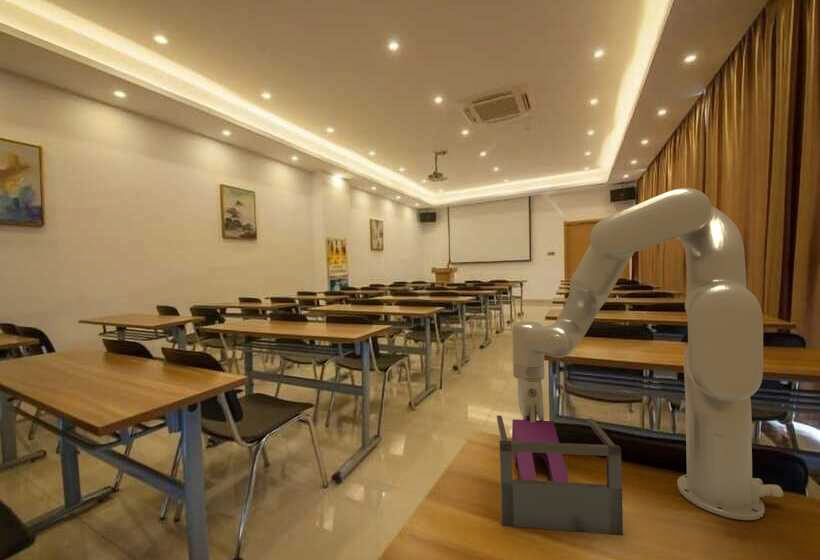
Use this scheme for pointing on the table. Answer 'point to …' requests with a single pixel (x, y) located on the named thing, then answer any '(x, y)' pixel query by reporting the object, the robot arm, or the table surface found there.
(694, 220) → the robot arm
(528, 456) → the mounting bracket
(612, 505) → the rack
